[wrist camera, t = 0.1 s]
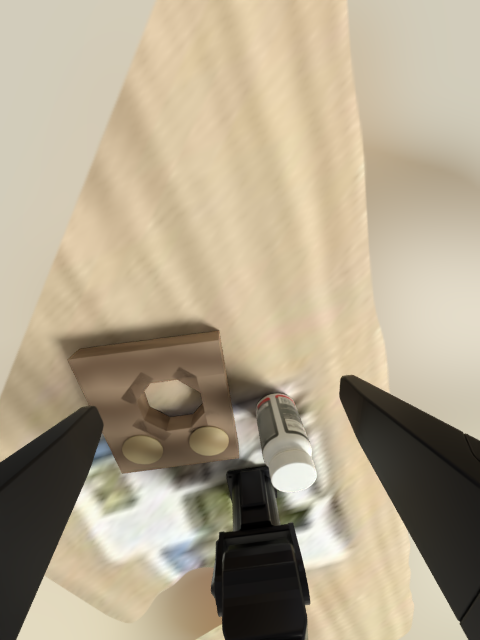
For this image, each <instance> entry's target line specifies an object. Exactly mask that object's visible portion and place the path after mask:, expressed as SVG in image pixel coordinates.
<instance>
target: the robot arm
mask: <svg viewBox="0 0 480 640" xmlns="http://www.w3.org/2000/svg"><path fill="white" fill-rule="evenodd" d="M339 396H340V400H341V402H342V405H343V407H344V409H345V412H346V414H347V416H348V419H349V421H350V423H351V426H352V428H353V431H354V433H355V435H356V437H357V439H358V441H359V443H360V445H361V447H362V449H363V451H364V452H365V454H366V456H367V458H368V460H369V461H370V463H371V465H372V467H373V469H374V470H375V472H376V474H377V476H378V478H379V479H380V481H381V483H382V485H383V487H384V488H385V490H386V492H387V494H388V496H389V497H390V499H391V501H392V503H393V505H394V506H395V508H396V510H397V512H398V514H399V515H400V517H401V519H402V521H403V523H404V524H405V526H406V528H407V530H408V532H409V533H410V535H411V537H412V539H413V540H414V542H415V544H416V546H417V548H418V549H419V551H420V553H421V555H422V557H423V558H424V560H425V562H426V564H427V566H428V567H429V569H430V571H431V573H432V575H433V576H434V578H435V580H436V582H437V584H438V585H439V587H440V589H441V591H442V593H443V594H444V596H445V598H446V600H447V602H448V603H449V605H450V607H451V609H452V611H453V612H454V614H455V616H456V618H457V620H458V621H460V625H461V627H462V629H463V631H464V632H465V634H466V636H467V638H468V640H480V441H479V440H477V439H475V438H474V437H472V436H469V435H468V434H464V433H463V432H462V431H460V430H458V429H456V428H454V427H452V426H450V425H449V424H447V423H444V422H443V421H441V420H439V419H437V418H435V417H433V416H431V415H429V414H427V413H425V412H423V411H421V410H419V409H418V408H416V407H414V406H412V405H410V404H408V403H406V402H404V401H402V400H400V399H399V398H397V397H395V396H393V395H391V394H389V393H387V392H385V391H383V390H381V389H379V388H377V387H376V386H374V385H372V384H370V383H368V382H366V381H364V380H362V379H360V378H358V377H356V376H354V375H346V376H342V377H341V380H340V392H339ZM103 427H104V424H103V420H102V418H101V416H100V413H99V411H98V409H97V407H96V406H86V407H82V408H80V409H79V410H77V411H76V412H74V413H73V414H71V415H70V416H68V417H67V418H65V419H64V420H62V421H61V422H59V423H58V424H57V425H55V426H54V427H52V428H51V429H49V430H48V431H46V432H45V433H43V434H42V435H40V436H39V437H37V438H36V439H34V440H33V441H31V442H30V443H28V444H27V445H25V446H24V447H23V448H21V449H20V450H18V451H17V452H15V453H14V454H12V455H11V456H9V457H8V458H6V459H5V460H3V461H2V462H0V640H16V639H17V636H18V634H19V632H20V630H21V627H22V625H23V623H24V620H25V618H26V616H27V614H28V611H29V609H30V607H31V604H32V602H33V600H34V598H35V595H36V593H37V591H38V588H39V586H40V584H41V581H42V579H43V577H44V575H45V572H46V570H47V568H48V565H49V563H50V561H51V558H52V556H53V554H54V552H55V549H56V547H57V545H58V542H59V540H60V538H61V535H62V533H63V531H64V529H65V526H66V524H67V522H68V519H69V517H70V515H71V512H72V510H73V508H74V506H75V503H76V501H77V499H78V496H79V494H80V492H81V489H82V487H83V485H84V483H85V480H86V478H87V475H88V473H89V470H90V467H91V465H92V462H93V459H94V455H95V452H96V449H97V446H98V443H99V440H100V437H101V434H102V431H103ZM227 482H228V486H229V491H230V496H231V500H232V506H233V531H232V532H219V540H218V541H216V558H215V566H214V572H213V578H212V584H211V593H212V595H213V596H214V598H215V600H216V605H217V611H218V616H219V617H221V616H222V630H223V634H224V638H225V640H308V624H307V614H306V608H305V605H310V595H309V589H308V583H307V578H306V573H305V568H304V564H303V560H302V556H301V552H300V548H299V544H298V541H297V537H296V533H295V529H294V525H293V522H292V523H288V524H284V525H280V519H279V514H278V508H277V502H276V498H277V489H276V488H275V487H274V486H273V484H272V482H271V477H270V472H269V467H268V466H267V467H259V468H252V469H244V470H237V471H230V472H227Z"/></svg>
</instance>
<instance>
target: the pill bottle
mask: <svg viewBox="0 0 480 640" xmlns="http://www.w3.org/2000/svg"><path fill="white" fill-rule="evenodd" d="M256 418H257V424H258V430H259V436H260V442H261V448H262V454H263V459H264V462H265V463H266V465H267V466H268V467H269V472H270V477H271V482H272V484H273V486H274V487H275V488H276V489H278V490H280V491H283V492H289V493H292V492H299V491H302V490H304V489H306V488H308V487H310V486H311V485H312V484H313V483H314V481H315V480H316V476H317V473H316V469H315V466H314V463H313V459H312V458H311V454H312V449H311V445H310V442H309V440H308V437H307V435H306V432H305V429H304V427H303V424H302V421H301V419H300V416H299V414H298V411H297V408H296V406H295V403H294V401H293V400H292V399H291V398H290V397H289V396H287V395H284V394H270V395H267V396H265V397H264V398H262V399H261V400H260V401H259V403H258V404H257V407H256Z"/></svg>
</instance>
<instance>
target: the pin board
mask: <svg viewBox="0 0 480 640" xmlns="http://www.w3.org/2000/svg"><path fill="white" fill-rule="evenodd" d="M68 362H69V364H70V366H71V369H72V371H73V373H74V375H75V377H76V379H77V381H78V383H79V385H80V387H81V389H82V391H83V393H84V395H85V398H86V400H87V402H88V404H89V406H96V407H97V409H98V411H99V413H100V416H101V418H102V420H103V424H104V427H103V431H102V433H103V435H104V437H105V439H106V441H107V443H108V445H109V447H110V449H111V452H112V454H113V456H114V458H115V460H116V462H117V464H118V466H119V468H120V470H121V472H122V474H123V473H131V472H138V471H146V470H153V469H161V468H168V467H176V466H184V465H191V464H199V463H206V462H214V461H221V460H229V459H236V458H239V445H238V438H237V432H236V426H235V421H234V415H233V409H232V403H231V397H230V391H229V385H228V379H227V374H226V368H225V362H224V356H223V350H222V344H221V338H220V332H219V331H213V332H205V333H197V334H190V335H182V336H174V337H167V338H159V339H151V340H144V341H136V342H128V343H121V344H113V345H105V346H98V347H90V348H82V349H79V350H78V351H77V352H76V353H74V354H73V355H72V356H71V357H70V358H69V359H68ZM171 380H179V381H181V382H182V383H184V384H186V385H188V386H190V387H191V388H193V389H195V390H197V391H198V392H200V393H201V398H202V402H203V403H202V405H201V406H200V407H199V408H198V409H197V410H196V411H195V412H194V413H193V414H190V415H182V416H175V417H169V416H167V415H165V414H163V413H161V412H159V411H157V410H155V409H153V408H151V407H149V404H148V401H147V398H146V395H145V392H144V391H145V389H146V388H147V387H148V386H149V384H150V383H156V382H164V381H171Z"/></svg>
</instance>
